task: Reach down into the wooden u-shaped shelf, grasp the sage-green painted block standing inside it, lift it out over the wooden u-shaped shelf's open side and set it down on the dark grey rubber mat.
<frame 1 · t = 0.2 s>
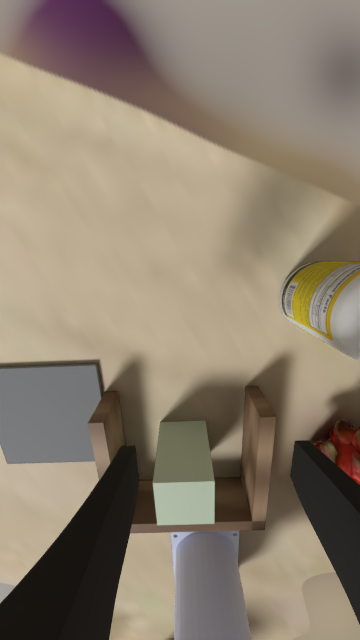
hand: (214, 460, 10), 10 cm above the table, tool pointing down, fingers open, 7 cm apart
mat: (50, 415, 21), on the table
supplement bottle: (309, 294, 18), on the table
dragon fruit: (337, 444, 22), on the table
wooden u-shaped shelf: (183, 439, 22), on the table
block: (184, 466, 19), in the wooden u-shaped shelf
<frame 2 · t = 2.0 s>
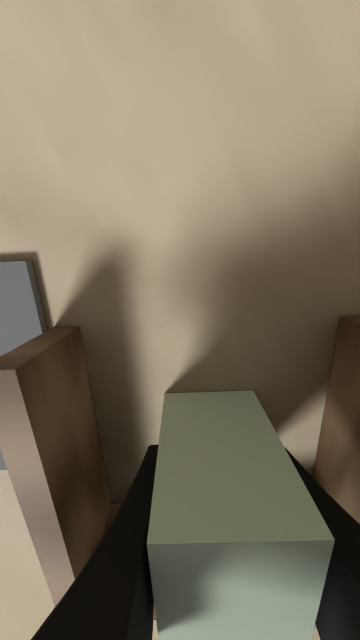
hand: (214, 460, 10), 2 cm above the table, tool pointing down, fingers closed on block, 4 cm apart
wooden u-shaped shelf: (209, 428, 12), on the table
block: (218, 484, 9), in the wooden u-shaped shelf, touching gripper
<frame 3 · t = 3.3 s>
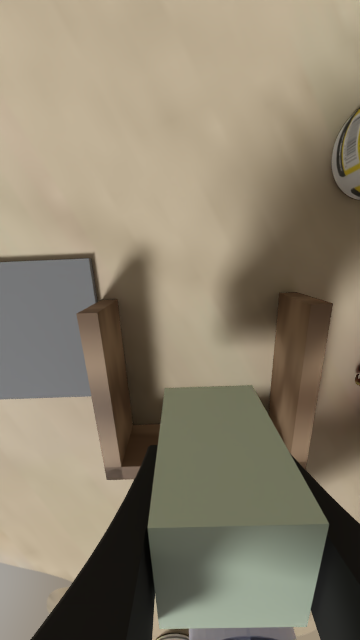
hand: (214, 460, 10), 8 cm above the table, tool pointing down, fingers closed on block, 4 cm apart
mat: (32, 334, 17), on the table
wooden u-shaped shelf: (199, 368, 18), on the table
block: (217, 476, 9), point 9 cm above the table, touching gripper
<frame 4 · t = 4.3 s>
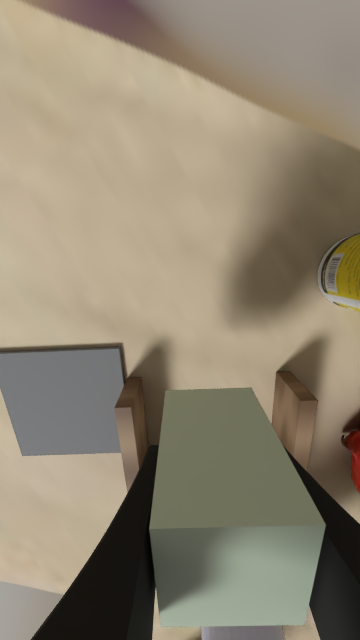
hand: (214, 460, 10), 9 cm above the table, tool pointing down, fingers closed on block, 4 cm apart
mat: (68, 403, 20), on the table
supplement bottle: (348, 270, 17), on the table
wooden u-shaped shelf: (208, 429, 21), on the table
block: (217, 477, 9), point 10 cm above the table, touching gripper
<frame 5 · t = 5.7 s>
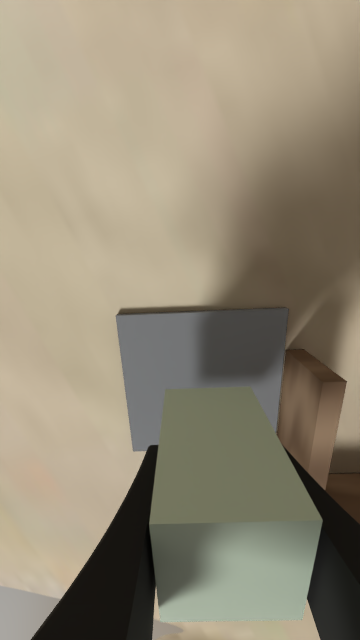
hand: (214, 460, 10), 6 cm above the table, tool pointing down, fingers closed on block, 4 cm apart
mat: (202, 384, 16), on the table
block: (216, 475, 9), point 7 cm above the table, touching gripper
when the fingers open (3 cm above the table, at t = 6.7 s): block stays where it is, resting on mat.
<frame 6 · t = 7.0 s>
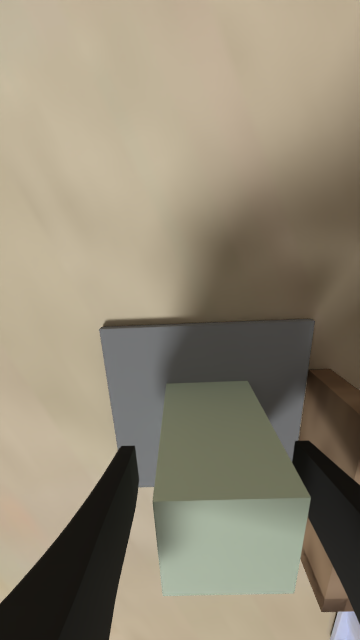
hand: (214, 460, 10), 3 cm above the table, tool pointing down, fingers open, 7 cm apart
mat: (206, 410, 13), on the table
block: (215, 463, 10), on the mat
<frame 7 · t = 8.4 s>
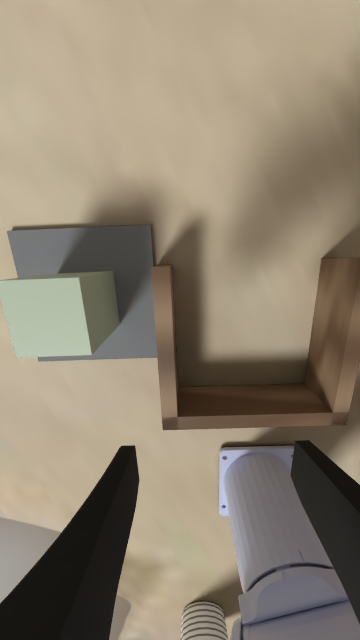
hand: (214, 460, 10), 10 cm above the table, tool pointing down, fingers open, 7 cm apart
mat: (91, 298, 18), on the table
cup: (202, 610, 31), on the table
wooden u-shaped shelf: (243, 331, 19), on the table
block: (72, 307, 15), on the mat
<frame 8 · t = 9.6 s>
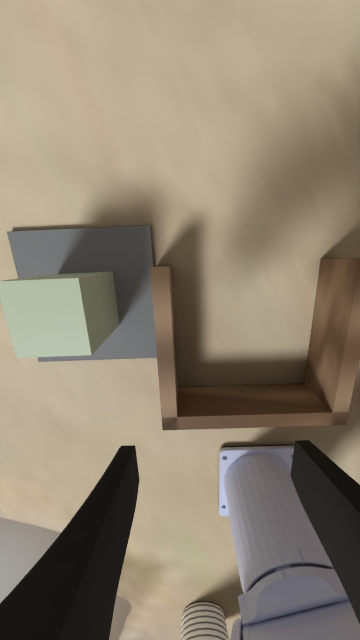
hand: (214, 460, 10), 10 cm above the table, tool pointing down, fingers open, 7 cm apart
mat: (91, 298, 18), on the table
cup: (203, 611, 31), on the table
wooden u-shaped shelf: (243, 331, 19), on the table
block: (71, 308, 15), on the mat
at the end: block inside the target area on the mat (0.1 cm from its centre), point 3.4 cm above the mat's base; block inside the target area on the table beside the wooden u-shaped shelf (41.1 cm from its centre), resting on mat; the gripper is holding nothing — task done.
